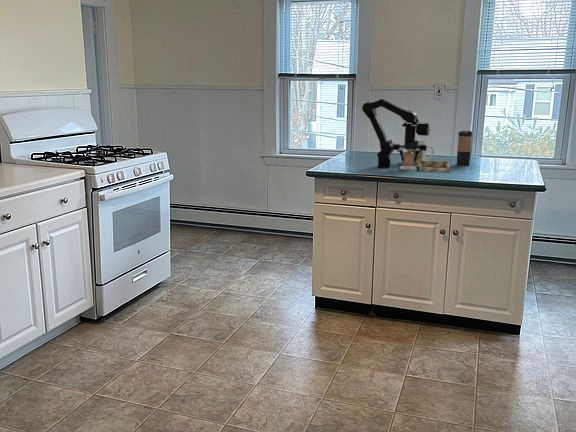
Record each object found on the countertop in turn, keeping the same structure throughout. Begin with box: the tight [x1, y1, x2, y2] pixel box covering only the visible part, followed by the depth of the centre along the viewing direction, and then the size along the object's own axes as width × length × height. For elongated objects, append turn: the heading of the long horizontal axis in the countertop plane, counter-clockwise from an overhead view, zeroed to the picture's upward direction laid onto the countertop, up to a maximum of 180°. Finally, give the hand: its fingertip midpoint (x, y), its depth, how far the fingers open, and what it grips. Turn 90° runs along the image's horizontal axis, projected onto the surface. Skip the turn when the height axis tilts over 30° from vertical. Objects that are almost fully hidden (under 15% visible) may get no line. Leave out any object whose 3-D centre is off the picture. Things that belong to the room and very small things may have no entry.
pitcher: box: [403, 139, 435, 165], centre depth 340 cm, size 11×18×14 cm, turn 81°
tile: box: [399, 165, 418, 171], centre depth 323 cm, size 9×9×1 cm
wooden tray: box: [417, 160, 451, 173], centre depth 320 cm, size 16×16×4 cm
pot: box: [402, 150, 415, 166], centre depth 321 cm, size 7×7×9 cm
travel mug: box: [456, 130, 473, 167], centre depth 332 cm, size 8×8×20 cm
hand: (408, 162), depth 322 cm, fingers closed on pot, 6 cm apart
